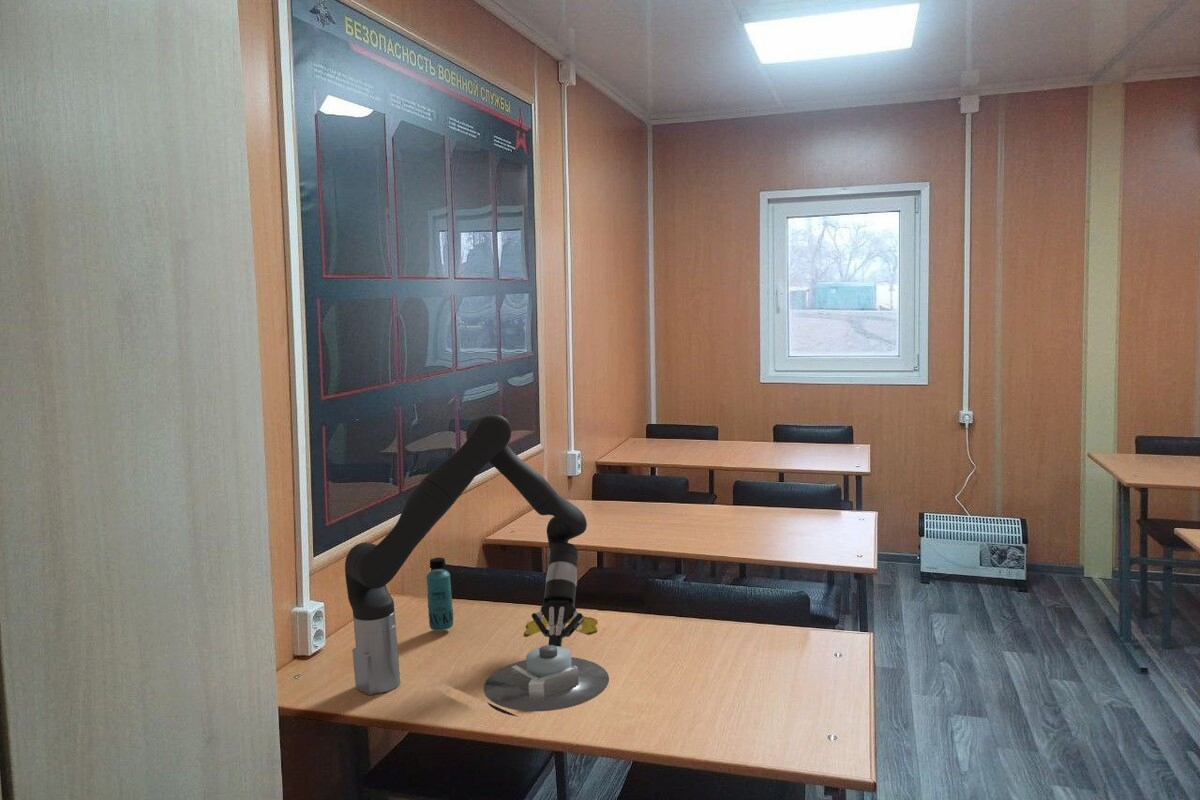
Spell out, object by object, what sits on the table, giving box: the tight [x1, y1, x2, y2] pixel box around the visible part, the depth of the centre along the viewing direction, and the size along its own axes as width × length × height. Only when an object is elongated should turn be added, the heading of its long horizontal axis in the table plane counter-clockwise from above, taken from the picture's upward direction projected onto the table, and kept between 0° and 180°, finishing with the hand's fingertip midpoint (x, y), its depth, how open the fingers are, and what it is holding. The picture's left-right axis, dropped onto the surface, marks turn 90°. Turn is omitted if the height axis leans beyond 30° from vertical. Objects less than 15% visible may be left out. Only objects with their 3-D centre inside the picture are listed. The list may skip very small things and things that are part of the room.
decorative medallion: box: [523, 615, 599, 638], centre depth 234 cm, size 20×20×2 cm
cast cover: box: [525, 644, 572, 678], centre depth 199 cm, size 10×10×8 cm
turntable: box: [483, 656, 610, 717], centre depth 198 cm, size 28×28×6 cm
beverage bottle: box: [426, 557, 455, 631], centre depth 235 cm, size 6×7×20 cm
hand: (554, 652), depth 206 cm, fingers closed
